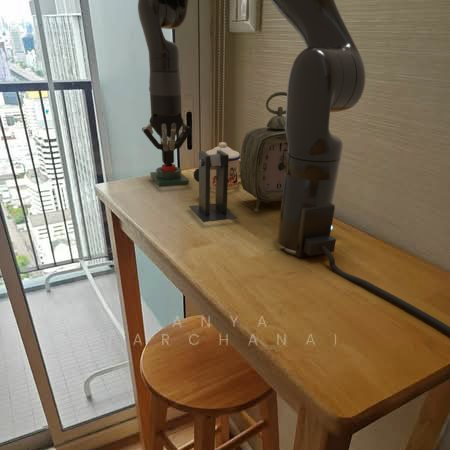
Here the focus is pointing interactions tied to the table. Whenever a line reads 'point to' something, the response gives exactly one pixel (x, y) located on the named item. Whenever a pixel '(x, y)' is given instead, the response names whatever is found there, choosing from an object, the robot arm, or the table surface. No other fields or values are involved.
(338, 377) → the table surface
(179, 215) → the table surface
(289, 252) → the robot arm
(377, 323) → the table surface
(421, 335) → the table surface
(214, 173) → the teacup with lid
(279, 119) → the tabletop clock
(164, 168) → the button
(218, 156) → the lever
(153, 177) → the button box
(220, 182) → the bracket
